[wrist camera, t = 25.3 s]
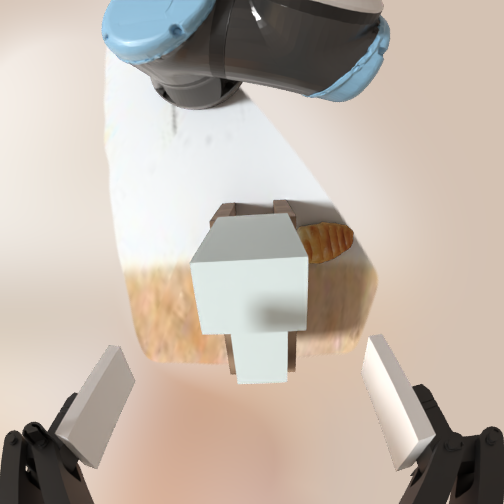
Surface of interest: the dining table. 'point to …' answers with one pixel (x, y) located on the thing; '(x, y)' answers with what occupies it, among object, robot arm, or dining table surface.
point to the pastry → (325, 240)
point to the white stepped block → (253, 290)
